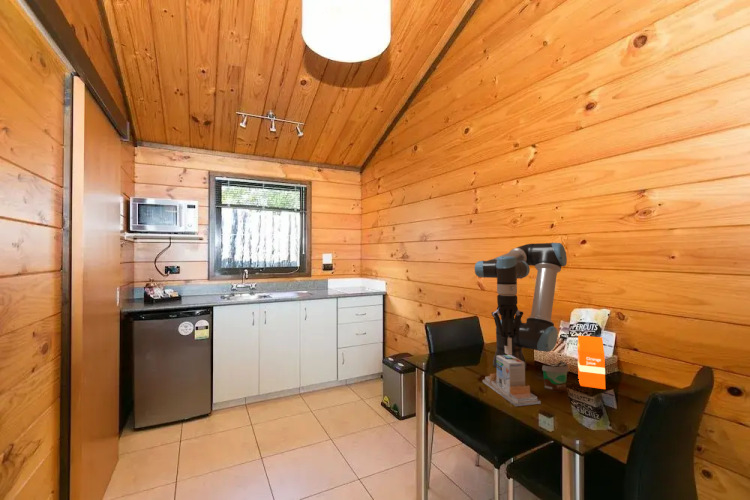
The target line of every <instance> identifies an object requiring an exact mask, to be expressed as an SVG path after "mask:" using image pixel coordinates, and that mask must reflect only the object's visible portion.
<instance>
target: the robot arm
mask: <svg viewBox="0 0 750 500" xmlns="http://www.w3.org/2000/svg"><path fill="white" fill-rule="evenodd" d="M567 260H568V259H567V252H566V248H565V246H564V245H563V244H562V243H560V242H552V241H551V242H546V243H545V242H544V243H543V242H542V243H527V244H524V245H520V246H517V247H515V248H512V249H511V250H510V251H509V252H507V253H504V254H501V255H500V256H496V257H494V258H492V259H488V260H478V261H476V263H475V264H474V274H475V275H476V277H478V278H484V279H485V278H491V279H492V278H494V279H496V294H497V296H496V298H497V299H496V303H497V307H496V310H495V311H492V312H491V316H492V317H493V319H494V323H495V338H496V339H495V341H496V344H495V345H496V350H495V352H494V353H495V354H494V356H493V360H492V365H493V367H495V368H496V356H498V355H512V356H514V357H516V358H518V359H519V360H521V361H523V362H525V370H527V363H526V358H525V356H524V354H523V349H528V350H534V351H537V352H546V353H547V352H548V353H549V352H552V351H553V350H554V349H555V347H556V345H557V342H558V333H559V330H558V329H557V327H556V326H555V323H554V322H553V321H552V314H553V308H554V307H553V306H554V299H555V297H554V296H555V293H556V283H557V276H558V273H561V271H562V267H565V266H567V262H568V261H567ZM530 266H532V267H533V266H534V268H535V269H536V270H537V273H536V280H535V286H534V293H533V299H532V307H531V313H530V316H528V317H527V318H526V321H525V322H523V321H522V318H523V315H524V311H520V310H519V308H518V296H517V294H518V280H517V279H521V280H522V279H524V278H526V277H527V276H529V274H530V273H531V272H530Z"/></svg>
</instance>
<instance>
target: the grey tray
mask: <svg viewBox="0 0 750 500" xmlns="http://www.w3.org/2000/svg"><path fill="white" fill-rule="evenodd" d="M482 383H483V384H484V385H486V386H487V387H489V388H490V389H492V390H493V392H496V393H497V394H499V395H500V396H501V397H503V399H505V400H507V401H508V403H511V404H512V405H514V406H515V407H524V406H533V405H541V404H542V403H541V402H542V401H541V400H540V399H538V396H536V395H535V394H533V393H532V392H531V385H530V384H525V385H521V386H510V387H509V390H508V389H506V388H505V387H504V386H503V385H501V384H500V383H499V382H497V372H496V373H490V374H489V375H488V376H487V375H486V376H485V378H484V379H482Z"/></svg>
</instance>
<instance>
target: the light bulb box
mask: <svg viewBox="0 0 750 500" xmlns="http://www.w3.org/2000/svg"><path fill="white" fill-rule="evenodd" d="M495 368H496V373H497V382H499V383H500V384H501V385H503V386H504V387H505V388H506V389H508V390H509V387H510V386H521V385H526V369H525V362H523V361H521V360H519V359H518V358H516V357H514V356H512V355H498V356H496V367H495Z"/></svg>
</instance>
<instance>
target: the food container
mask: <svg viewBox="0 0 750 500" xmlns="http://www.w3.org/2000/svg"><path fill="white" fill-rule="evenodd" d="M541 370H542V372H543V373H542V374H543V382H544V383H543V384H544V390H546V391H550V392H555V393H561V392H562V391H563V392H565V391H566V390H567V377H568V376H567V375H568V372H569V371H570V368H569V365H568V364H567V362H565V361H563V360H560V361H559V362H557V363H552V364H549V365H545V364H542V368H541Z"/></svg>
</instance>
